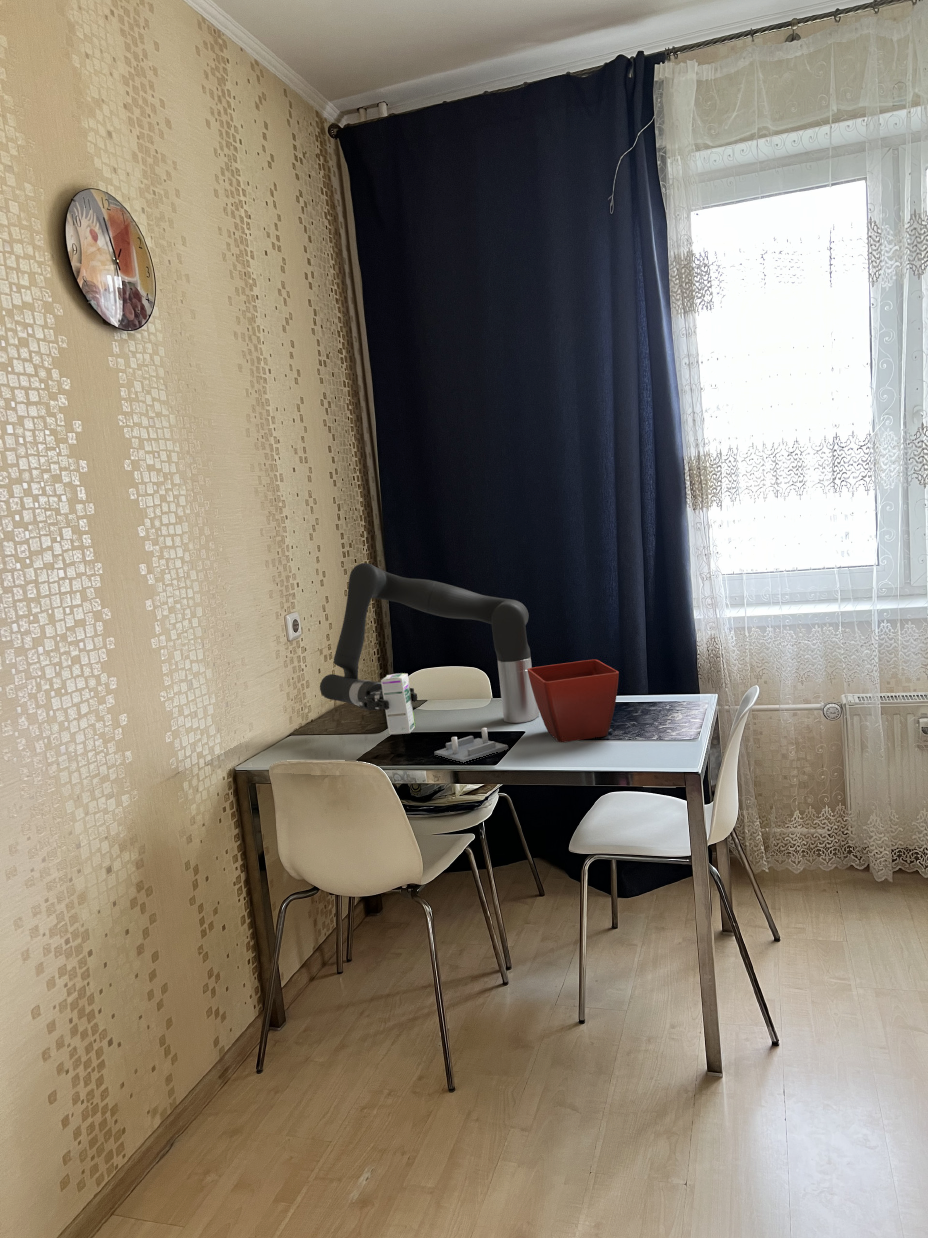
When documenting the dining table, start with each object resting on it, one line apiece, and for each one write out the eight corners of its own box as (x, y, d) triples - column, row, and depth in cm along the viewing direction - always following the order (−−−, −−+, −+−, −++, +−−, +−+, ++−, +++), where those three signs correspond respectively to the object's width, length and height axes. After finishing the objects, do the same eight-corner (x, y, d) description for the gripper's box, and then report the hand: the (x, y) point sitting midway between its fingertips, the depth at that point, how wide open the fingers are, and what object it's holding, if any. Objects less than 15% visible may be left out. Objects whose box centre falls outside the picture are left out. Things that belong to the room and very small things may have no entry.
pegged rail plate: (478, 741, 235) (476, 723, 234) (508, 749, 225) (506, 729, 224) (434, 755, 227) (432, 736, 226) (463, 764, 217) (461, 743, 216)
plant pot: (625, 737, 224) (620, 671, 222) (551, 749, 222) (544, 681, 219) (601, 720, 243) (596, 658, 241) (532, 730, 240) (526, 668, 238)
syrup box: (410, 733, 229) (402, 677, 227) (387, 735, 230) (380, 679, 228) (415, 727, 234) (408, 672, 232) (394, 728, 235) (386, 674, 233)
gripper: (343, 686, 238) (376, 693, 225) (389, 675, 246) (423, 680, 233) (347, 714, 239) (380, 722, 226) (393, 701, 247) (426, 709, 234)
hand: (402, 701), depth 229 cm, fingers closed on syrup box, 8 cm apart
